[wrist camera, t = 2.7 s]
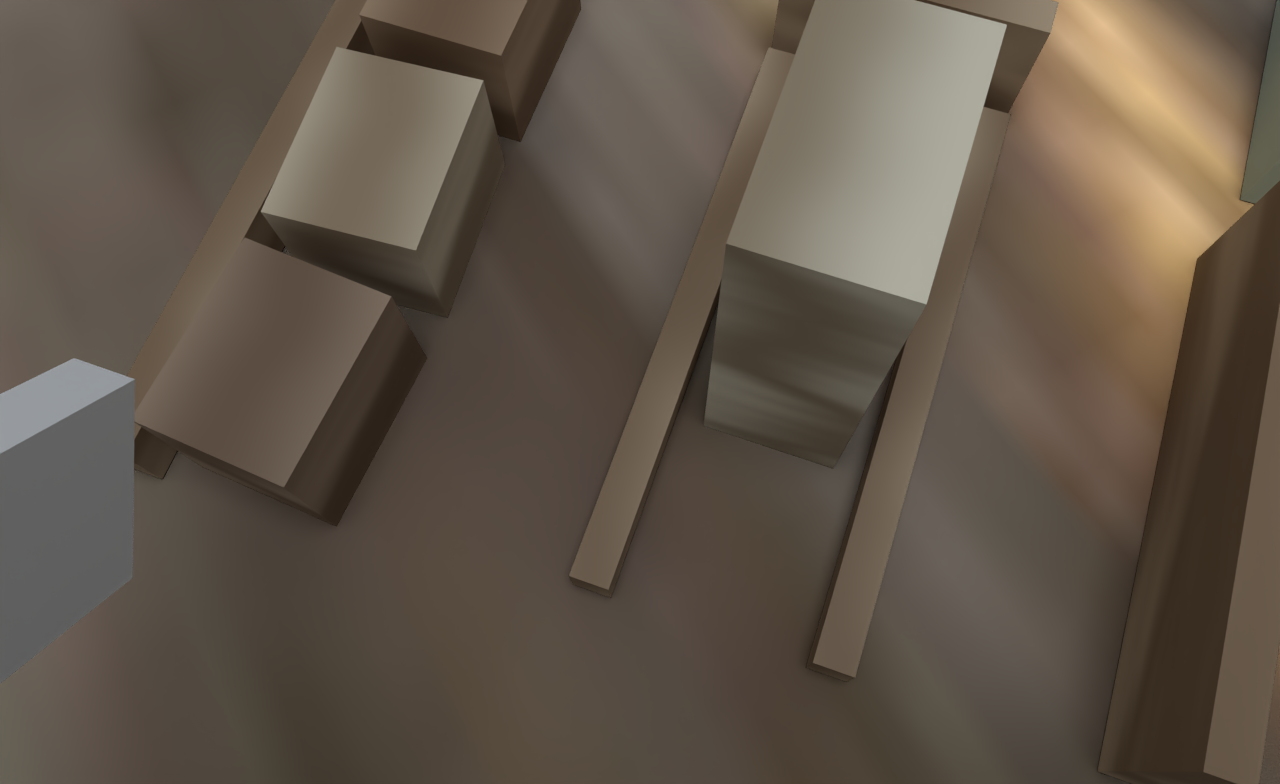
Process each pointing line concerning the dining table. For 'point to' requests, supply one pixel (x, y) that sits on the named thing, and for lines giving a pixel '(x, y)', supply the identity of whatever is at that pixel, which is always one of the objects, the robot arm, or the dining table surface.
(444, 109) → the offcut block
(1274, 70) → the green frame
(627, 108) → the dining table surface
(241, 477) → the offcut block
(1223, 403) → the oak rack
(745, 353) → the tall beige block
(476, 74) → the offcut block
